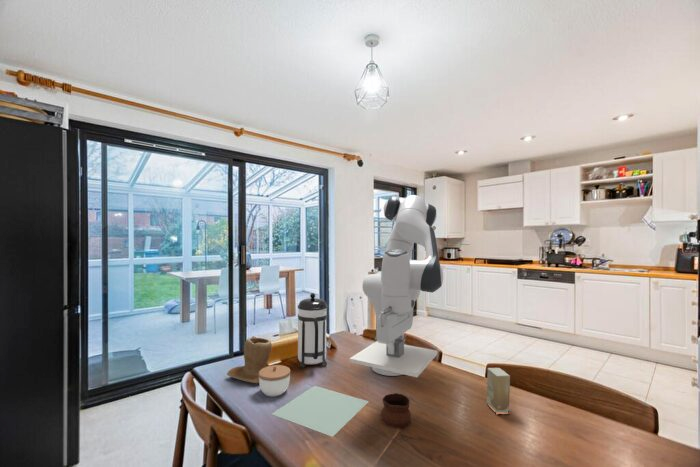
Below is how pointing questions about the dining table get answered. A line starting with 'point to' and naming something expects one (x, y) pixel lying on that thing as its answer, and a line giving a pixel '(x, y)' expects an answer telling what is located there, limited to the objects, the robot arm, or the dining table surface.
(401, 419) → the ceramic pot
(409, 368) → the lid
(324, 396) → the mat
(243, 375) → the brown boot
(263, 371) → the lidded jar
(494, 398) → the skincare box
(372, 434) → the dining table surface
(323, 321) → the coffee press
